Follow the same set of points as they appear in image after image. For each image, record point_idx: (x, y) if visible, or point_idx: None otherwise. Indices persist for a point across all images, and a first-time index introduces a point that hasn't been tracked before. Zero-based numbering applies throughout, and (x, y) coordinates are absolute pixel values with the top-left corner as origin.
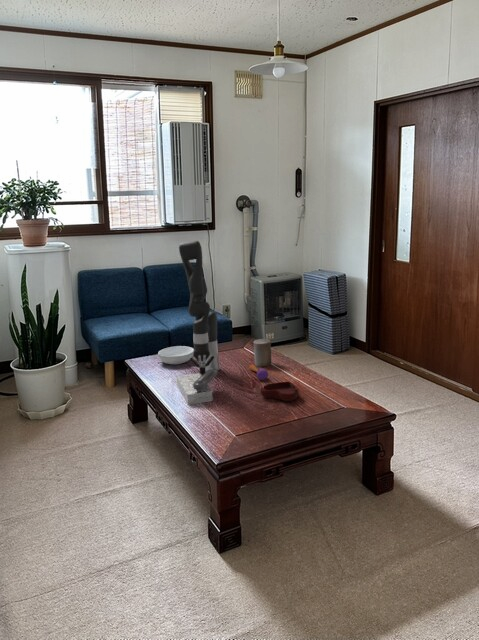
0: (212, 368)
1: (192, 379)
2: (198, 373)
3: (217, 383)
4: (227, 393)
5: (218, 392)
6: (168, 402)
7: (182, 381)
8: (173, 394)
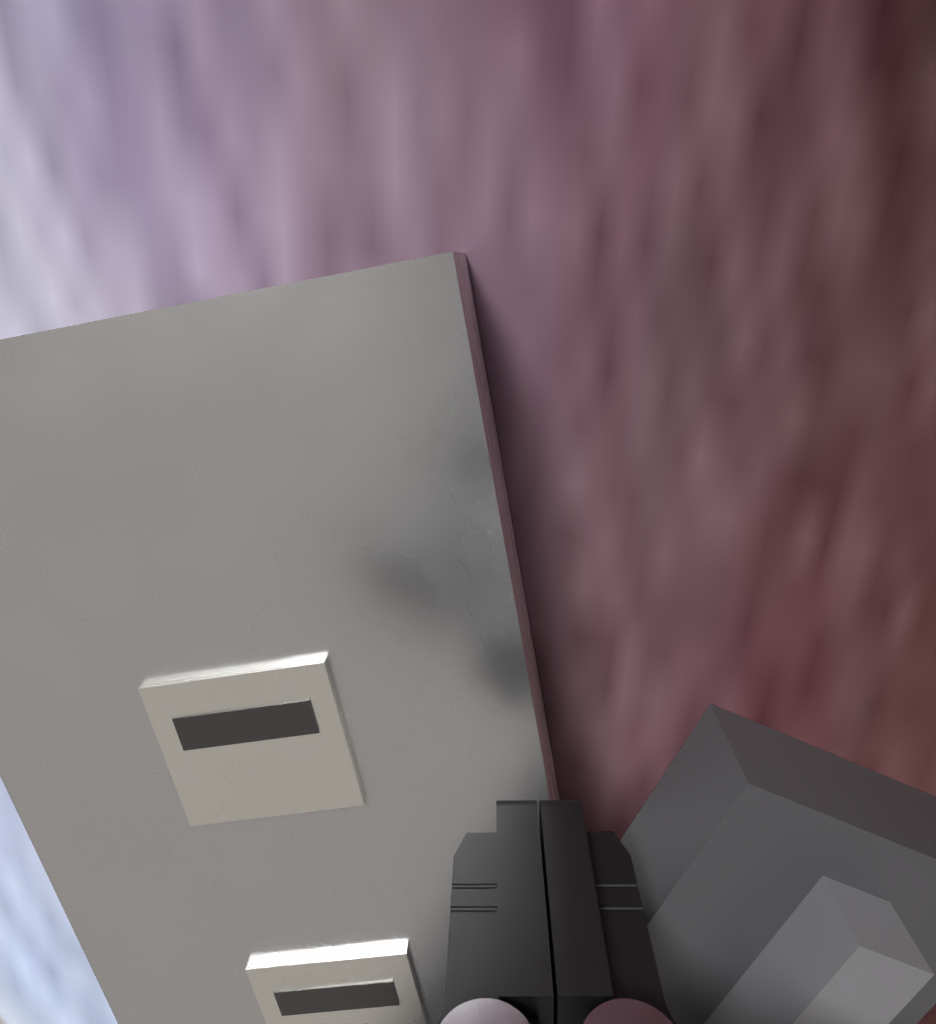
0: (913, 983)
1: (278, 738)
2: (431, 290)
3: (831, 433)
4: None
5: None
6: (16, 992)
7: (59, 772)
8: None
